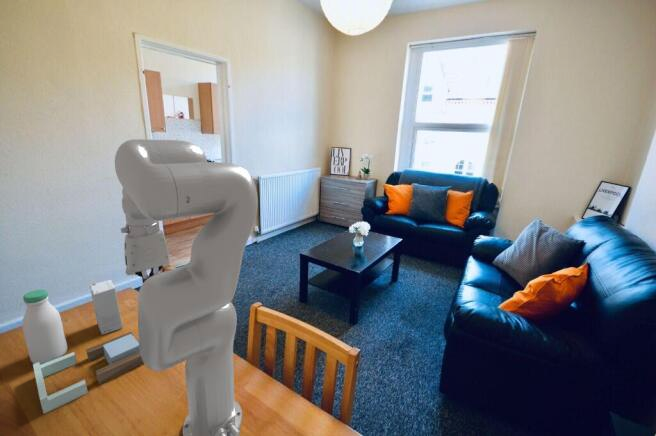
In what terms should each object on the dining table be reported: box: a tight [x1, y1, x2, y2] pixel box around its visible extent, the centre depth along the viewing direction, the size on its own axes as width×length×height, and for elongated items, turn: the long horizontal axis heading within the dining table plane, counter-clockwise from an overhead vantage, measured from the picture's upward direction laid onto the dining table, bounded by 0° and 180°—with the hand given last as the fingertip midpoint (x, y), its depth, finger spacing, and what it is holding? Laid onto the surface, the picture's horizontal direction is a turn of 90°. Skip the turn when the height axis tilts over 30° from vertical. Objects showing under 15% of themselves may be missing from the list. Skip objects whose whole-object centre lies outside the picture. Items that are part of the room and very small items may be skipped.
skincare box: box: [89, 279, 124, 336], centre depth 95 cm, size 8×6×15 cm
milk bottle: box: [21, 289, 68, 365], centre depth 81 cm, size 8×8×20 cm
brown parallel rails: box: [85, 331, 145, 385], centre depth 83 cm, size 13×11×3 cm
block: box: [103, 333, 140, 365], centre depth 84 cm, size 7×7×4 cm
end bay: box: [32, 351, 89, 415], centre depth 74 cm, size 15×8×4 cm, turn 48°
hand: (150, 287), depth 85 cm, fingers closed
